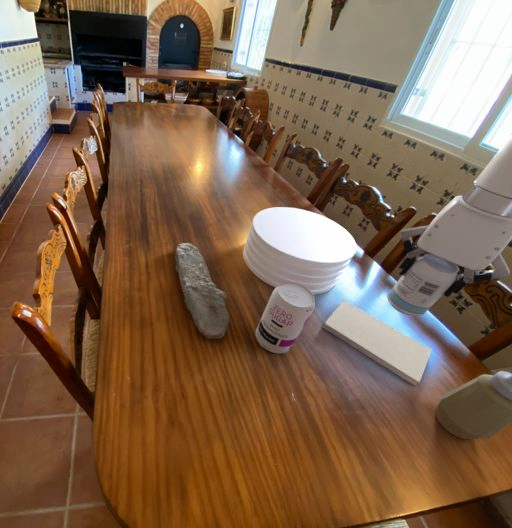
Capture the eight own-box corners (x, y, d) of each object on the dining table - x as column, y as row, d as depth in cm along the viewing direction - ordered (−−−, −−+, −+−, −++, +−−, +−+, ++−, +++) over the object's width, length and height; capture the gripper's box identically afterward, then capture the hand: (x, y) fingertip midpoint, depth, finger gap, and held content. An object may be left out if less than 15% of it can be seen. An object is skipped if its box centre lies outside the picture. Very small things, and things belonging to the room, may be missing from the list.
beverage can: (428, 312, 62) (470, 268, 54) (411, 323, 59) (453, 279, 51) (395, 291, 66) (429, 248, 59) (377, 300, 64) (411, 257, 56)
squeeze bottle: (439, 439, 54) (524, 389, 42) (420, 396, 60) (490, 343, 48) (489, 452, 52) (590, 405, 41) (465, 407, 59) (547, 356, 47)
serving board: (428, 353, 68) (432, 349, 67) (415, 386, 62) (419, 382, 61) (340, 303, 79) (343, 299, 78) (321, 326, 72) (324, 322, 71)
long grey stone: (198, 251, 94) (167, 254, 93) (200, 237, 91) (168, 240, 90) (238, 339, 67) (195, 344, 65) (242, 323, 64) (197, 328, 62)
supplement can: (290, 331, 70) (315, 285, 61) (291, 360, 64) (319, 314, 55) (255, 321, 72) (275, 275, 62) (253, 348, 66) (274, 302, 56)
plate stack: (320, 241, 102) (335, 212, 94) (352, 300, 80) (375, 268, 73) (238, 232, 102) (247, 202, 95) (249, 288, 81) (261, 255, 74)
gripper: (572, 216, 44) (481, 298, 56) (435, 176, 54) (382, 253, 65) (574, 233, 40) (476, 318, 52) (426, 186, 49) (370, 267, 61)
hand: (424, 281), depth 58 cm, fingers closed on beverage can, 7 cm apart
